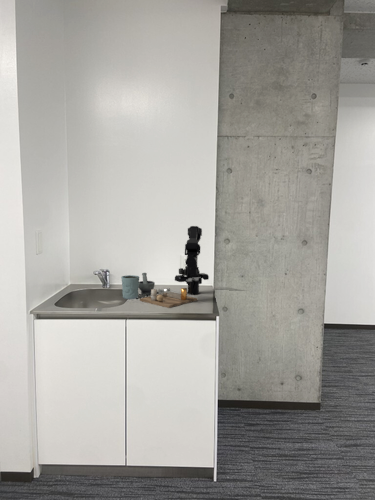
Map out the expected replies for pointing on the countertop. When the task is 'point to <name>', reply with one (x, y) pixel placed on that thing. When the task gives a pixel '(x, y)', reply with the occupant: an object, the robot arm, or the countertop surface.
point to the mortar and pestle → (146, 285)
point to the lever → (174, 293)
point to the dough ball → (159, 297)
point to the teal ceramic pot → (130, 286)
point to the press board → (166, 300)
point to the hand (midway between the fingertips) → (191, 292)
